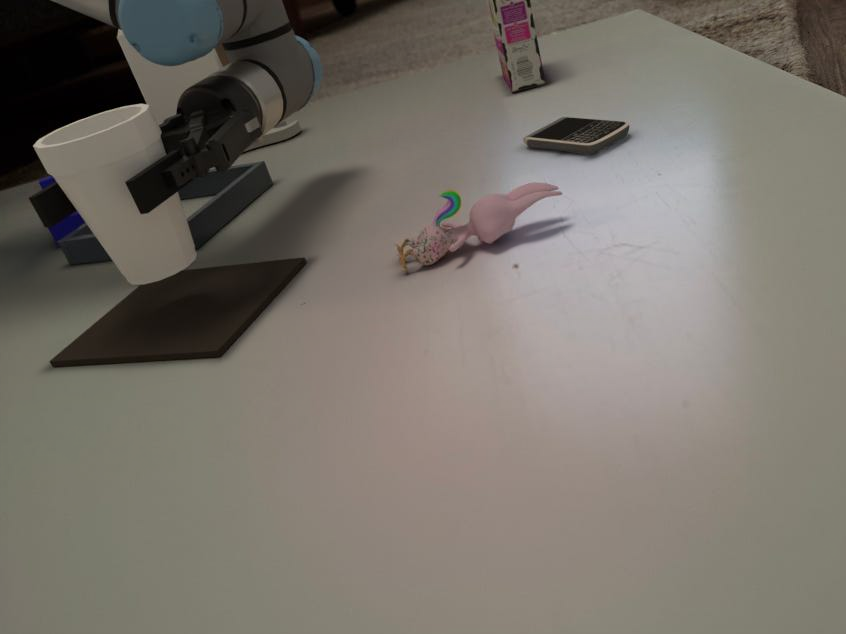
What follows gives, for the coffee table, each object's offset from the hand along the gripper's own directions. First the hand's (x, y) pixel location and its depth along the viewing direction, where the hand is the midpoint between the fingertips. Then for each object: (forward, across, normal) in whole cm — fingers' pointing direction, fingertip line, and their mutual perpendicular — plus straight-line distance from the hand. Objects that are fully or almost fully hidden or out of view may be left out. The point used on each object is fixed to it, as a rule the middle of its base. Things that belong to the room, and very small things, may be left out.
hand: (87, 205), depth 67 cm
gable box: (-77, +44, -13) cm, 90 cm away
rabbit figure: (-12, -27, -13) cm, 32 cm away
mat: (-4, 0, -13) cm, 13 cm away
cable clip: (-30, +35, -13) cm, 48 cm away
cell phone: (-35, -31, -13) cm, 49 cm away
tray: (-27, +17, -13) cm, 35 cm away
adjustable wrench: (-50, +25, -13) cm, 58 cm away
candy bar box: (-64, -18, -13) cm, 68 cm away
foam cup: (-4, 0, -8) cm, 9 cm away
